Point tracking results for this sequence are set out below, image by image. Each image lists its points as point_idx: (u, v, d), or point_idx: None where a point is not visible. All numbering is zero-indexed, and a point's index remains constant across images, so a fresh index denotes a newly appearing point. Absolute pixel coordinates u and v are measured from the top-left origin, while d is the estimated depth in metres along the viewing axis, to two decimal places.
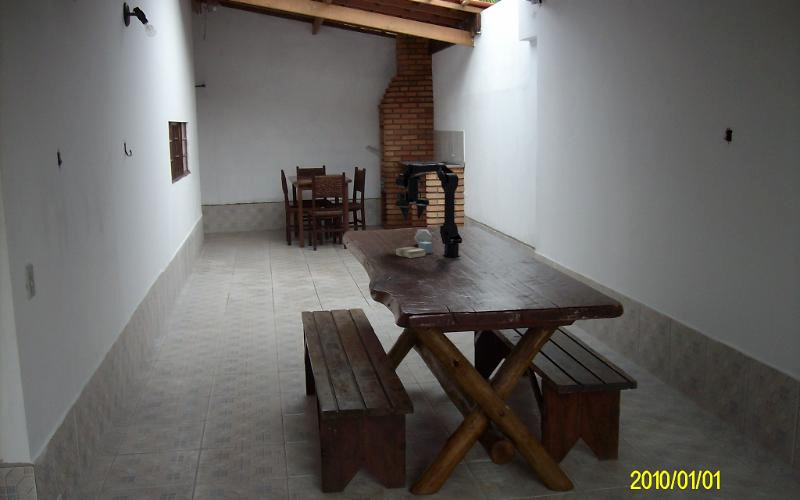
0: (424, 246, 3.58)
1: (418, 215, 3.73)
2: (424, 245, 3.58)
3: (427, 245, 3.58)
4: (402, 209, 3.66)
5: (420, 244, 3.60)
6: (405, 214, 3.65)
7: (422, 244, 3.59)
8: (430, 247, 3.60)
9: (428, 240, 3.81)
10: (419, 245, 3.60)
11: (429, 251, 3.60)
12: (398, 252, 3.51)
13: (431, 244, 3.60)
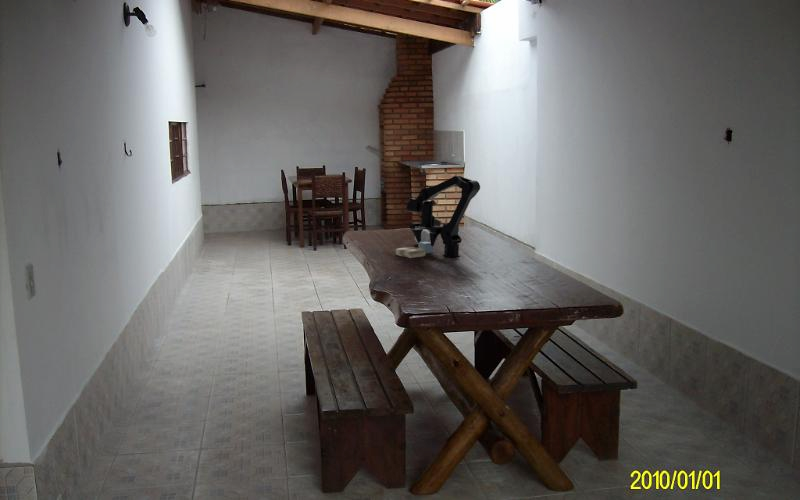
0: (424, 246, 3.58)
1: None
2: (424, 245, 3.58)
3: (427, 245, 3.58)
4: None
5: (420, 244, 3.60)
6: None
7: (422, 244, 3.59)
8: (430, 247, 3.60)
9: (428, 240, 3.81)
10: (419, 245, 3.60)
11: (429, 251, 3.60)
12: (398, 252, 3.51)
13: None
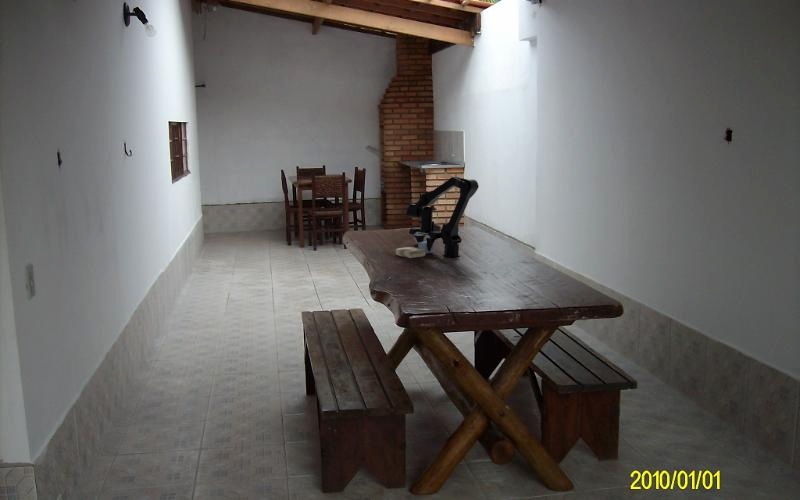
0: (424, 246, 3.58)
1: None
2: (424, 245, 3.58)
3: None
4: None
5: (420, 244, 3.60)
6: None
7: (422, 244, 3.59)
8: None
9: None
10: (419, 245, 3.60)
11: (429, 251, 3.60)
12: (398, 252, 3.51)
13: None
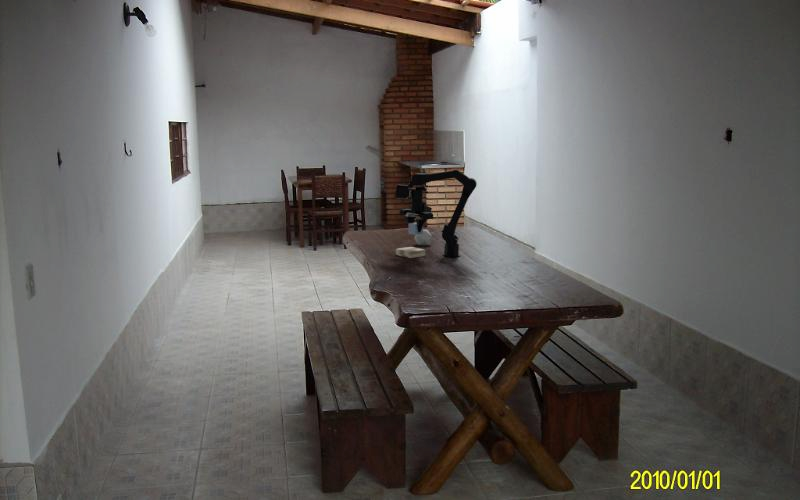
0: (414, 227, 3.50)
1: None
2: (414, 226, 3.50)
3: None
4: None
5: (410, 225, 3.52)
6: None
7: (412, 225, 3.51)
8: None
9: (428, 240, 3.81)
10: (409, 226, 3.52)
11: (419, 232, 3.52)
12: (398, 252, 3.51)
13: None
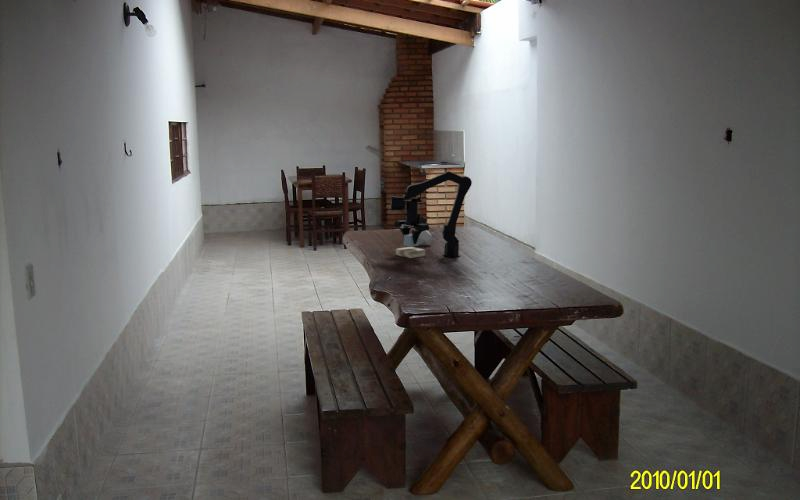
0: (410, 239, 3.47)
1: None
2: (409, 238, 3.48)
3: None
4: None
5: (406, 237, 3.49)
6: None
7: (408, 237, 3.48)
8: None
9: (428, 240, 3.81)
10: (405, 238, 3.50)
11: (415, 244, 3.49)
12: (398, 252, 3.51)
13: None
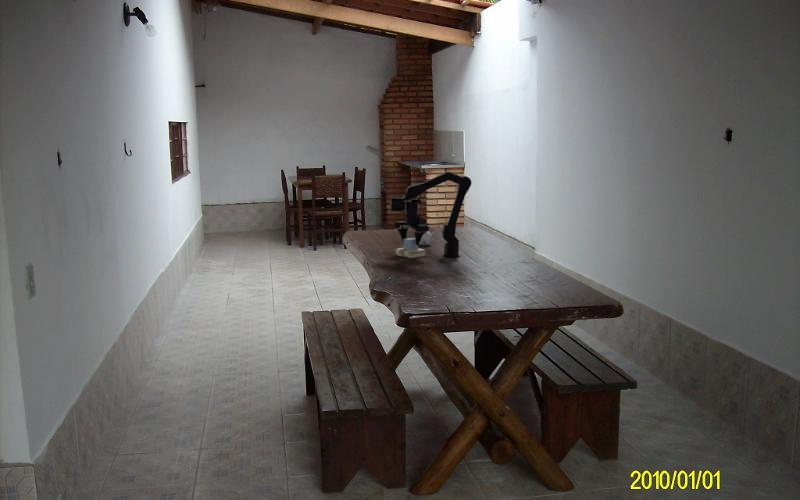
0: (409, 242, 3.48)
1: None
2: (409, 242, 3.48)
3: (413, 241, 3.48)
4: None
5: (405, 240, 3.50)
6: None
7: (407, 240, 3.49)
8: None
9: (428, 240, 3.81)
10: (404, 241, 3.50)
11: (415, 248, 3.50)
12: (398, 252, 3.51)
13: None
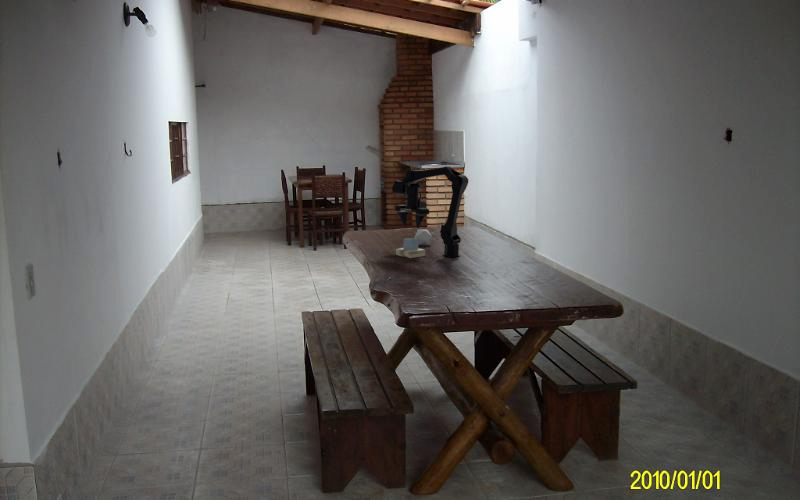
0: (409, 242, 3.48)
1: None
2: (409, 242, 3.48)
3: (413, 241, 3.48)
4: None
5: (405, 240, 3.50)
6: None
7: (407, 240, 3.49)
8: (416, 244, 3.50)
9: (428, 240, 3.81)
10: (404, 241, 3.50)
11: (415, 248, 3.50)
12: (398, 252, 3.51)
13: (417, 240, 3.50)
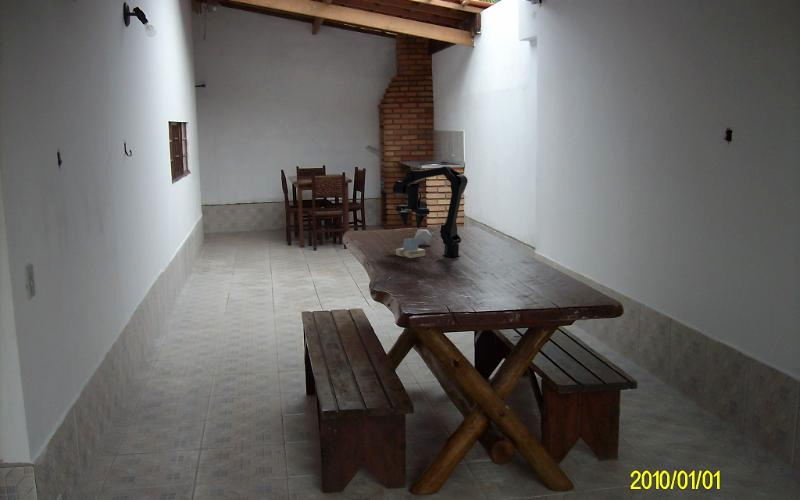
0: (409, 242, 3.48)
1: None
2: (409, 242, 3.48)
3: (413, 241, 3.48)
4: None
5: (405, 240, 3.50)
6: None
7: (407, 240, 3.49)
8: (416, 244, 3.50)
9: (428, 240, 3.81)
10: (404, 241, 3.50)
11: (415, 248, 3.50)
12: (398, 252, 3.51)
13: (417, 240, 3.50)
